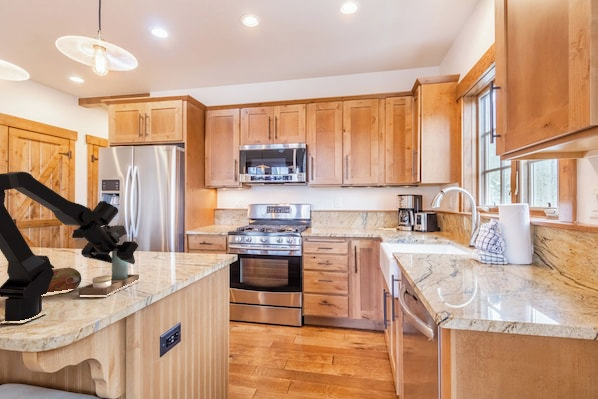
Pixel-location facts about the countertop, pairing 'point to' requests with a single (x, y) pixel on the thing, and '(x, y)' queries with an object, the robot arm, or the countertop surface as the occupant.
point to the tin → (64, 279)
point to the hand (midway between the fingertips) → (123, 262)
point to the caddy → (104, 291)
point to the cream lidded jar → (102, 281)
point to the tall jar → (119, 268)
